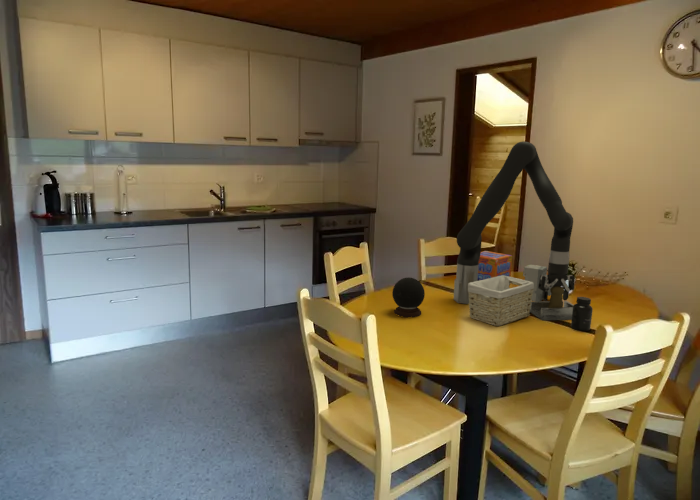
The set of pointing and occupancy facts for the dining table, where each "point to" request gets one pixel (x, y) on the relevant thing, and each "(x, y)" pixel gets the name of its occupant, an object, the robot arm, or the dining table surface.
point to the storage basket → (500, 300)
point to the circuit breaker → (535, 279)
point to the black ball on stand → (408, 297)
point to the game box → (494, 265)
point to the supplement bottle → (582, 314)
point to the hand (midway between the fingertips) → (554, 300)
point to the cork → (556, 297)
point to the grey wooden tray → (551, 311)
